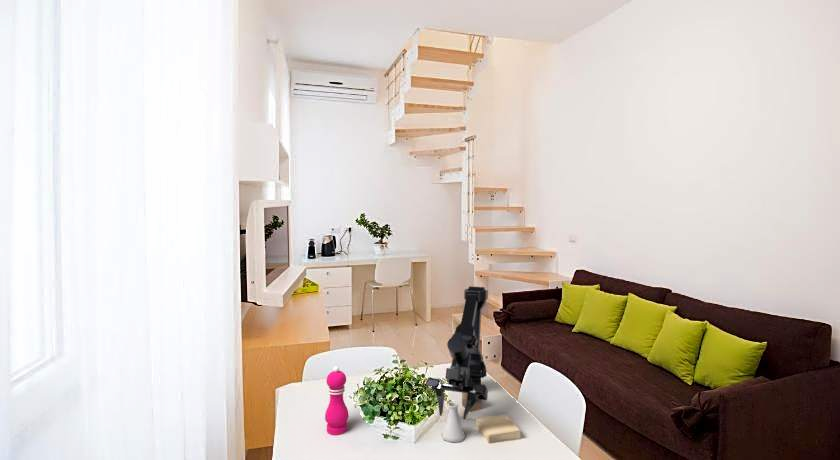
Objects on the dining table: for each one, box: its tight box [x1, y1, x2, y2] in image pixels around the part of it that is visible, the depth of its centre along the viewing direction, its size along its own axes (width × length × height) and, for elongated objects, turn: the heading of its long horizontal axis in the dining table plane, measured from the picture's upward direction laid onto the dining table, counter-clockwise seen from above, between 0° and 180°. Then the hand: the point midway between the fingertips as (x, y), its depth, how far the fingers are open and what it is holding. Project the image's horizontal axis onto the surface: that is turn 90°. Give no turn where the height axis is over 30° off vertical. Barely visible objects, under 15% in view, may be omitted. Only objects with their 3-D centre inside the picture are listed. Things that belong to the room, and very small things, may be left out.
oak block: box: [475, 414, 521, 445], centre depth 125 cm, size 10×10×3 cm
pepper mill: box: [324, 365, 350, 436], centre depth 127 cm, size 7×7×20 cm
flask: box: [441, 401, 466, 443], centre depth 123 cm, size 7×7×10 cm
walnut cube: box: [461, 392, 483, 413], centre depth 141 cm, size 5×5×5 cm
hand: (452, 417), depth 121 cm, fingers open, 7 cm apart
